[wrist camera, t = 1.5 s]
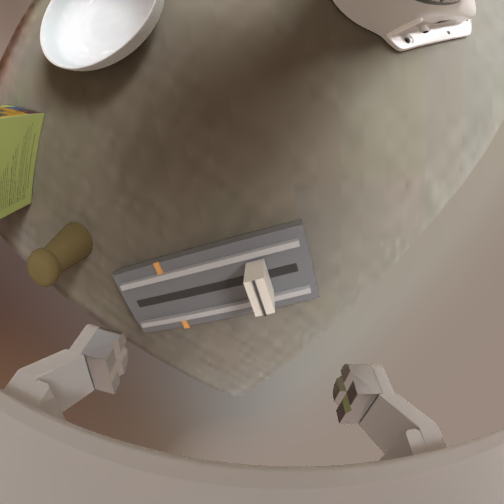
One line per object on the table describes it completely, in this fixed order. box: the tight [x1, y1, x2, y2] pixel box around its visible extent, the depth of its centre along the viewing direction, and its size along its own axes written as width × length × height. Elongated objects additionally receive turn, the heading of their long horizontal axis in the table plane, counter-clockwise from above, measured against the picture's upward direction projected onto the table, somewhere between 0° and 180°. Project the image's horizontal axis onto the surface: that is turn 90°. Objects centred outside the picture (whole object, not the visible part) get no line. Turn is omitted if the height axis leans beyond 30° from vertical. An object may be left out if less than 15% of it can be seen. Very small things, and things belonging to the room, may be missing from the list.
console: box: [112, 219, 320, 333], centre depth 41 cm, size 28×11×3 cm, turn 107°
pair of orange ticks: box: [153, 261, 190, 329], centre depth 41 cm, size 1×11×1 cm, turn 16°
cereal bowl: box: [40, 0, 164, 71], centre depth 24 cm, size 17×17×7 cm
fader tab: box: [243, 258, 275, 317], centre depth 37 cm, size 2×5×5 cm, turn 17°
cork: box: [27, 222, 92, 287], centre depth 35 cm, size 6×6×11 cm
